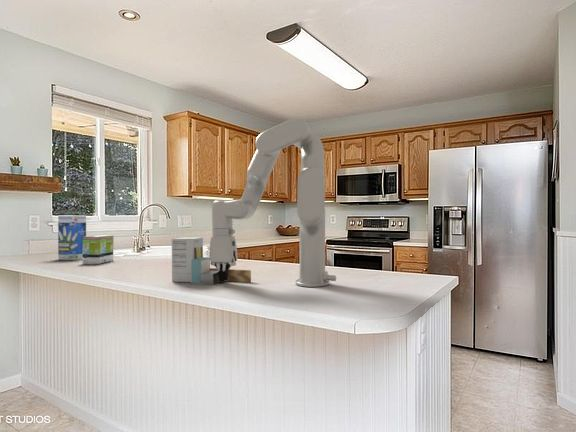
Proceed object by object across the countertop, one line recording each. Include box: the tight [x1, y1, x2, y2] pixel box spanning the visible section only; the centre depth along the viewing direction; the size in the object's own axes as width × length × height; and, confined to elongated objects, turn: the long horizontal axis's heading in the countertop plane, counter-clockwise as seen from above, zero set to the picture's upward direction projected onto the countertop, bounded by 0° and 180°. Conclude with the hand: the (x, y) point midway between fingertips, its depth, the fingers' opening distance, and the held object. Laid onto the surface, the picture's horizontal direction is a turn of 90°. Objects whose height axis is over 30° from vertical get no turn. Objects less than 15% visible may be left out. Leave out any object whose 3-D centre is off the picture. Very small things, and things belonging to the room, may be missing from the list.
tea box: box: [81, 234, 114, 265], centre depth 210 cm, size 15×10×15 cm
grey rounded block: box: [200, 270, 220, 286], centre depth 146 cm, size 5×8×4 cm, turn 168°
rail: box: [210, 267, 252, 284], centre depth 150 cm, size 18×1×4 cm, turn 67°
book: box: [190, 256, 211, 285], centre depth 148 cm, size 4×8×9 cm, turn 168°
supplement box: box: [171, 236, 204, 283], centre depth 152 cm, size 10×9×17 cm
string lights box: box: [57, 214, 87, 261], centre depth 225 cm, size 13×8×26 cm, turn 80°
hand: (223, 280), depth 145 cm, fingers closed
